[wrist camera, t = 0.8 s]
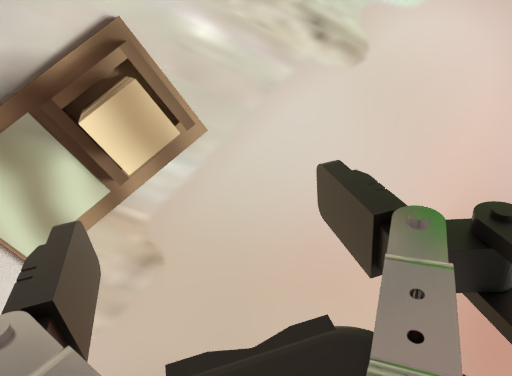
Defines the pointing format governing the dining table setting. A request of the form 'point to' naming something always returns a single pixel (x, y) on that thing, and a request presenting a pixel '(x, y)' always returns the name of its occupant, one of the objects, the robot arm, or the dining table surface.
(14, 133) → the puzzle board
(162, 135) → the maple block
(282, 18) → the dining table surface
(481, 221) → the robot arm
